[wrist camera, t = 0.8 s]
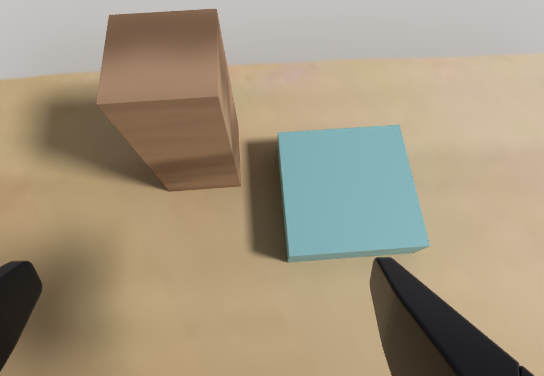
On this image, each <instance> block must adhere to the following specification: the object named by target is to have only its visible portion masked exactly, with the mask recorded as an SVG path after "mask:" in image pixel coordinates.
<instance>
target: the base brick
mask: <svg viewBox="0 0 544 376" xmlns="http://www.w3.org/2000/svg"><path fill="white" fill-rule="evenodd" d="M278 161H279V172H280V183H281V194H282V205H283V216H284V227H285V238H286V250H287V261H288V262H300V261H314V260H327V259H340V258H353V257H366V256H380V255H393V254H406V253H415V252H417V251H419V250H422V249H424V248H426V247H429V246H430V244H429V240H428V236H427V232H426V228H425V224H424V220H423V217H422V213H421V209H420V205H419V201H418V197H417V193H416V189H415V185H414V181H413V177H412V173H411V169H410V165H409V161H408V157H407V153H406V149H405V145H404V141H403V137H402V133H401V129H400V125H389V126H374V127H358V128H343V129H328V130H312V131H297V132H282V133H278Z"/></svg>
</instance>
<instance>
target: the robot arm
mask: <svg viewBox="0 0 544 376" xmlns="http://www.w3.org/2000/svg"><path fill="white" fill-rule="evenodd" d="M370 290H371V295H372V300H373V305H374V309H375V314H376V319H377V324H378V329H379V333H380V338H381V342H382V347H383V350H384V353H385V357H386V360H387V363H388V366H389V369H390V372H391V375H392V376H534V375H533V374H532V373H531V372H530V371H528V370H527V369H526V368H525V367H523V366H519V363H518V362H517V361H516V360H515V359H514V358H512V357H511V356H510V355H509V354H508V353H506V352H505V351H504V350H503V349H501V348H500V347H499V346H498V345H497V344H495V343H494V342H493V341H492V340H491V339H489V338H488V337H487V336H486V335H485V334H483V333H482V332H481V331H480V330H479V329H477V328H476V327H475V326H474V325H472V324H471V323H470V322H469V321H468V320H466V319H465V318H464V317H463V316H462V315H460V314H459V313H458V312H457V311H456V310H454V309H453V308H452V307H451V306H449V305H448V304H447V303H446V302H445V301H443V300H442V299H441V298H440V297H439V296H437V295H436V294H435V293H434V292H433V291H431V290H430V289H429V288H428V287H427V286H425V285H424V284H423V283H422V282H420V281H419V280H418V279H417V278H416V277H414V276H413V275H412V274H411V273H410V272H408V271H407V270H406V269H405V268H404V267H402V266H401V265H400V264H399V263H397V262H396V261H395V260H394V259H392V258H390V257H377V258H375V259H374V261H373V266H372V272H371V278H370ZM41 292H42V282H41V280H40V278H39V276H38V274H37V272H36V270H35V268H34V266H33V265H32V263H30V262H29V261H11V262H9V263H7V264H5V265H3V266H1V267H0V372H1V370H2V368H3V367H4V365H5V363H6V362H7V360H8V358H9V356H10V355H11V353H12V351H13V349H14V348H15V346H16V344H17V342H18V340H19V338H20V336H21V334H22V332H23V329H24V327H25V325H26V323H27V321H28V319H29V317H30V315H31V313H32V311H33V309H34V307H35V305H36V302H37V300H38V298H39V296H40V294H41Z"/></svg>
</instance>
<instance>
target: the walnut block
mask: <svg viewBox="0 0 544 376" xmlns="http://www.w3.org/2000/svg"><path fill="white" fill-rule="evenodd" d="M96 105H97V106H98V108H99V109H100V110H101V111H102V112H103V113H104V115H105V116H106V117H107V118H108V119H109V121H110V122H111V123H112V124H113V125H114V126H115V128H116V129H117V130H118V131H119V132H120V134H121V135H122V136H123V137H124V138H125V140H126V141H127V142H128V143H129V144H130V145H131V147H132V148H133V149H134V150H135V151H136V153H137V154H138V155H139V156H140V157H141V158H142V160H143V161H144V162H145V163H146V164H147V166H148V167H149V168H150V169H151V170H152V171H153V173H154V174H155V175H156V176H157V177H158V179H159V180H160V181H161V182H162V183H163V185H164V186H165V187H166V188H167V189H168V190H169V191H183V190H197V189H210V188H224V187H238V186H241V177H240V154H239V132H238V122H237V116H236V111H235V105H234V100H233V95H232V89H231V84H230V78H229V73H228V68H227V62H226V57H225V52H224V46H223V41H222V36H221V30H220V24H219V19H218V14H217V9H204V10H188V11H171V12H153V13H136V14H119V15H109V19H108V26H107V33H106V40H105V46H104V54H103V60H102V67H101V74H100V80H99V87H98V94H97V101H96Z"/></svg>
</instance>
